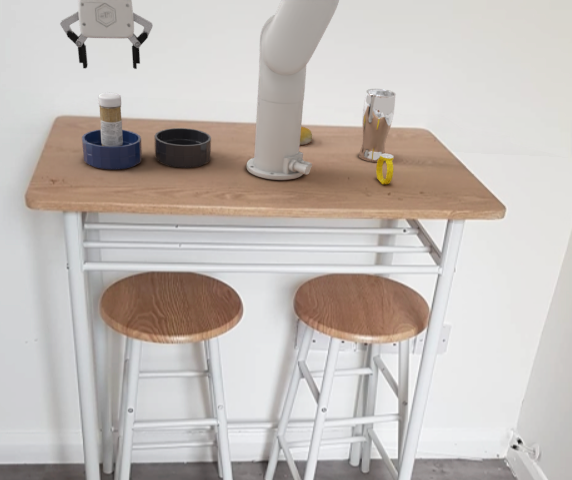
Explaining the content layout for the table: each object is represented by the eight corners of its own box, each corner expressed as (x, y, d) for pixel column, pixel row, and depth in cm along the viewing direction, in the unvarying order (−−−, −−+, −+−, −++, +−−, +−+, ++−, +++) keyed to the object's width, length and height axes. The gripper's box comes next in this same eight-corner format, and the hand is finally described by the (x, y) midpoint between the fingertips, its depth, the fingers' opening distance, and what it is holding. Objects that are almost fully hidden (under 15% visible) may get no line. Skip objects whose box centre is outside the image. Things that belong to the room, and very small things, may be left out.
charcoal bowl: (221, 160, 157) (222, 137, 154) (183, 172, 148) (183, 149, 145) (182, 146, 162) (182, 124, 160) (143, 158, 154) (142, 135, 151)
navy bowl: (153, 161, 152) (152, 138, 150) (110, 175, 144) (108, 151, 141) (115, 147, 158) (114, 125, 156) (71, 159, 150) (69, 136, 147)
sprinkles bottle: (111, 153, 153) (107, 90, 146) (128, 158, 152) (125, 94, 145) (97, 159, 150) (93, 94, 143) (114, 164, 148) (111, 99, 141)
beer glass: (358, 151, 169) (367, 86, 161) (387, 155, 168) (397, 90, 160) (355, 160, 163) (363, 94, 155) (385, 164, 162) (395, 98, 154)
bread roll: (293, 148, 167) (295, 131, 165) (269, 137, 173) (271, 121, 171) (319, 142, 172) (321, 126, 170) (295, 132, 177) (296, 116, 175)
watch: (371, 177, 154) (375, 150, 151) (383, 176, 155) (387, 150, 152) (381, 187, 150) (386, 160, 146) (394, 187, 150) (398, 160, 147)
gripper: (52, -28, 127) (63, 71, 136) (150, -24, 130) (155, 72, 139) (56, -32, 133) (66, 62, 142) (149, -29, 137) (153, 63, 146)
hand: (110, 67), depth 141 cm, fingers open, 9 cm apart
